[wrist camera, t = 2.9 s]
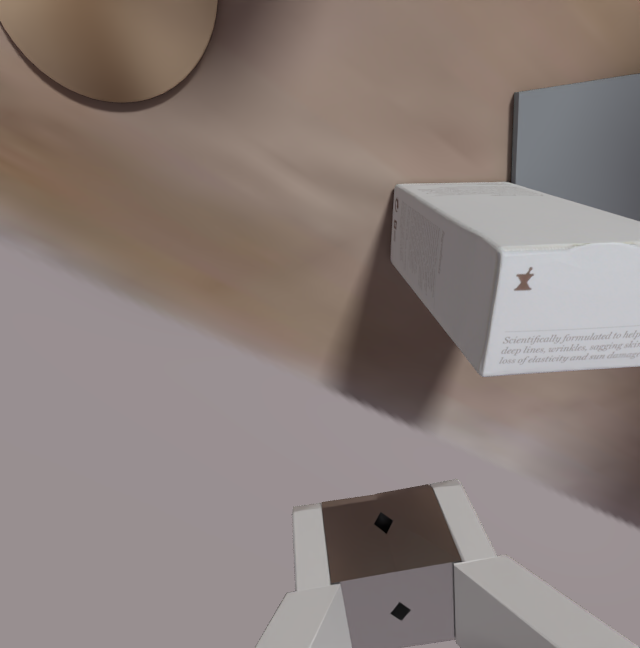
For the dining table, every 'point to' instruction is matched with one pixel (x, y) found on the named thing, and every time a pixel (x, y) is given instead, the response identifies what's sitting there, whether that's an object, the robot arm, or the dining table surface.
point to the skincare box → (521, 275)
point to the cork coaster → (112, 42)
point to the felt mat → (581, 143)
